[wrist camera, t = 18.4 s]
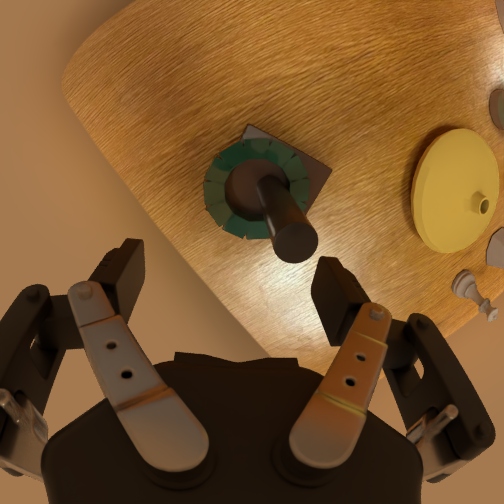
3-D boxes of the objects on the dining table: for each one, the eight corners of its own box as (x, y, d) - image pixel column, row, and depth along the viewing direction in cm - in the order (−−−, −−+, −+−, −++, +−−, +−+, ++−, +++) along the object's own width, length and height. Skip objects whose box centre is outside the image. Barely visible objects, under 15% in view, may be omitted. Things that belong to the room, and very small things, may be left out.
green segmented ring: (189, 206, 26) (186, 213, 24) (235, 118, 23) (235, 119, 21) (273, 246, 29) (275, 254, 27) (322, 168, 25) (328, 172, 24)
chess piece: (457, 270, 35) (495, 308, 26) (473, 268, 35) (510, 304, 26) (447, 293, 37) (482, 333, 28) (464, 291, 37) (497, 328, 28)
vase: (408, 261, 33) (437, 291, 27) (385, 144, 26) (424, 157, 19) (485, 218, 31) (516, 238, 25) (475, 113, 24) (514, 122, 17)
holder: (206, 204, 28) (190, 276, 16) (247, 123, 24) (263, 132, 13) (284, 240, 30) (315, 322, 19) (328, 166, 27) (395, 212, 15)
